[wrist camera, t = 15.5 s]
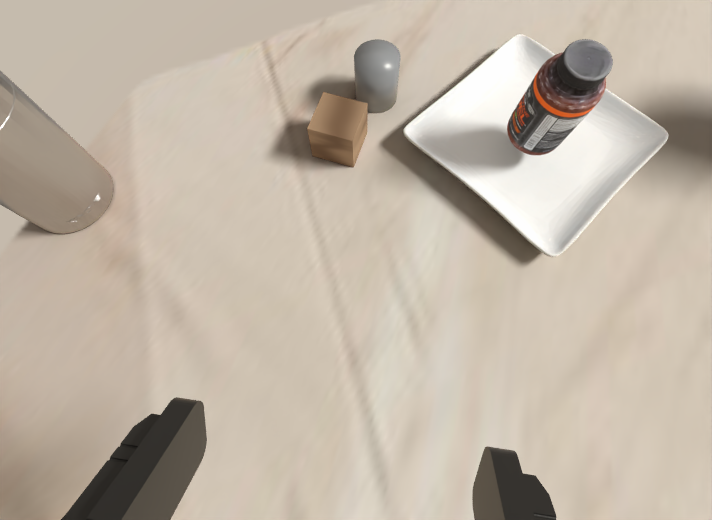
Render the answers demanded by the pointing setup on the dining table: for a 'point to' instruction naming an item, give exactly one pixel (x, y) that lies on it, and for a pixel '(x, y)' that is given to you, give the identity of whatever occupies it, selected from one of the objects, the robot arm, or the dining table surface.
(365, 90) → the grey cylinder
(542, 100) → the supplement bottle
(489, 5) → the dining table surface
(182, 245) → the dining table surface
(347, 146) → the walnut cube
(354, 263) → the dining table surface
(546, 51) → the salad plate
